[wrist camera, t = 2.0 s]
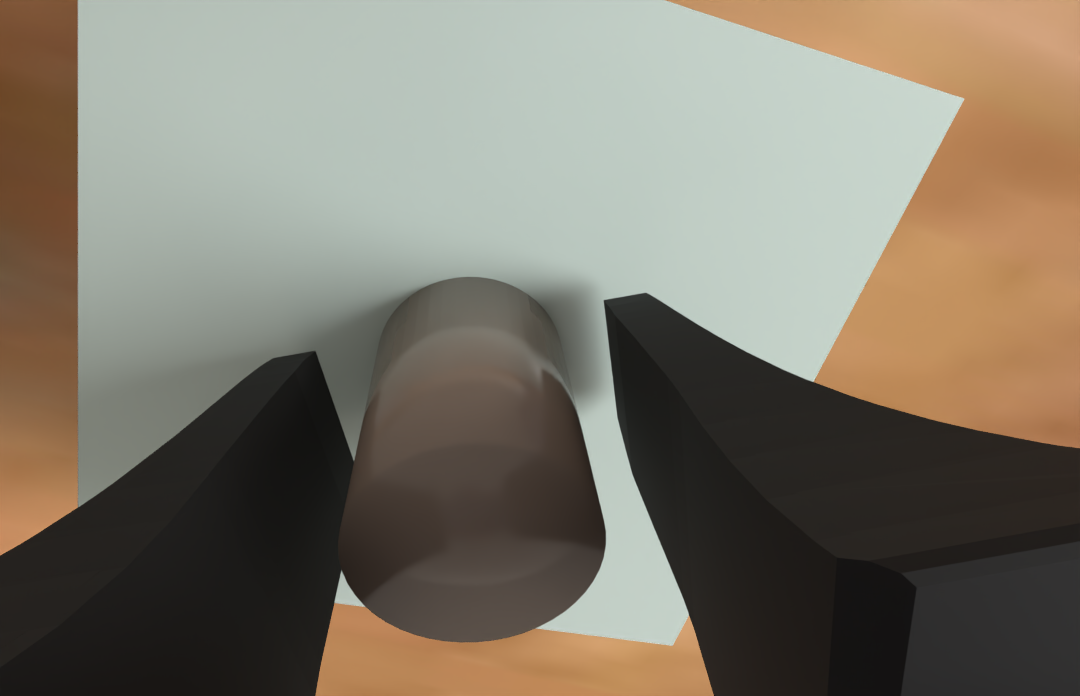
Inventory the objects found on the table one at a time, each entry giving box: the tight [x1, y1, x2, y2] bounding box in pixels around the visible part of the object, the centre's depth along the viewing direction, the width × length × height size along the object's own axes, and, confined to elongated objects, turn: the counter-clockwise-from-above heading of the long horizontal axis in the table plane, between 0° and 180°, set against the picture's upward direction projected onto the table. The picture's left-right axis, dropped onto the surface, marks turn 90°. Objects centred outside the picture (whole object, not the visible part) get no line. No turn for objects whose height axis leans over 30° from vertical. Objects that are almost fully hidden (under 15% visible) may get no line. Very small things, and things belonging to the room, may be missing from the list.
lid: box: [78, 0, 964, 646], centre depth 10 cm, size 11×11×5 cm
